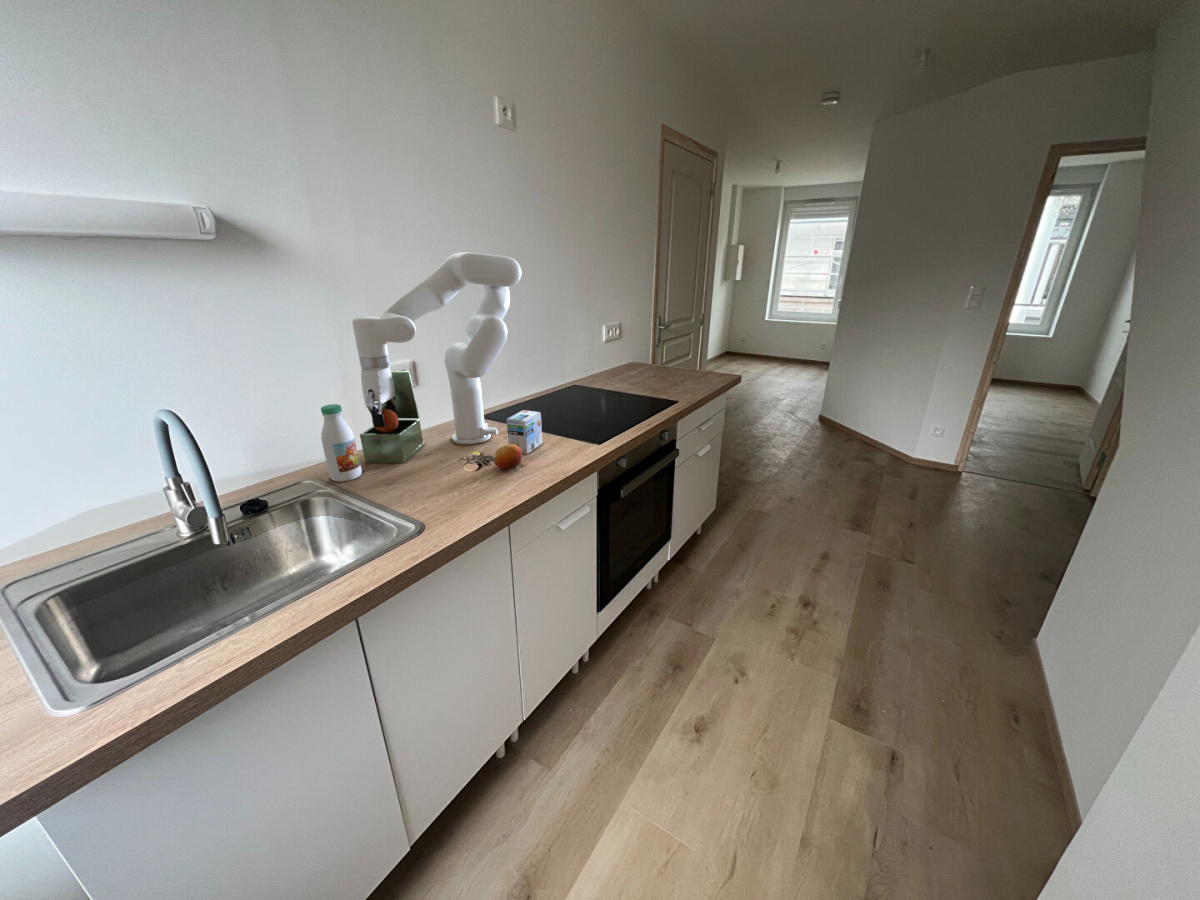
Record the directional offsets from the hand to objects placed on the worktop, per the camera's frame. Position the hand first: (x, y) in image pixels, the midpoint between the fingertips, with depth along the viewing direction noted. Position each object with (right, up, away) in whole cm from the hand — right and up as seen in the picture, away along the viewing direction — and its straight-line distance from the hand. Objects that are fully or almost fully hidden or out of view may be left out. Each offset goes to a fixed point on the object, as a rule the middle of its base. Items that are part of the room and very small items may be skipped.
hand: (385, 422), depth 133 cm
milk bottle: (-6, -16, -9) cm, 19 cm away
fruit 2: (+37, -13, -4) cm, 40 cm away
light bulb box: (+40, -8, +11) cm, 42 cm away
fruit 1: (0, -3, +1) cm, 3 cm away
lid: (0, +8, +6) cm, 10 cm away
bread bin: (0, -9, +6) cm, 11 cm away
